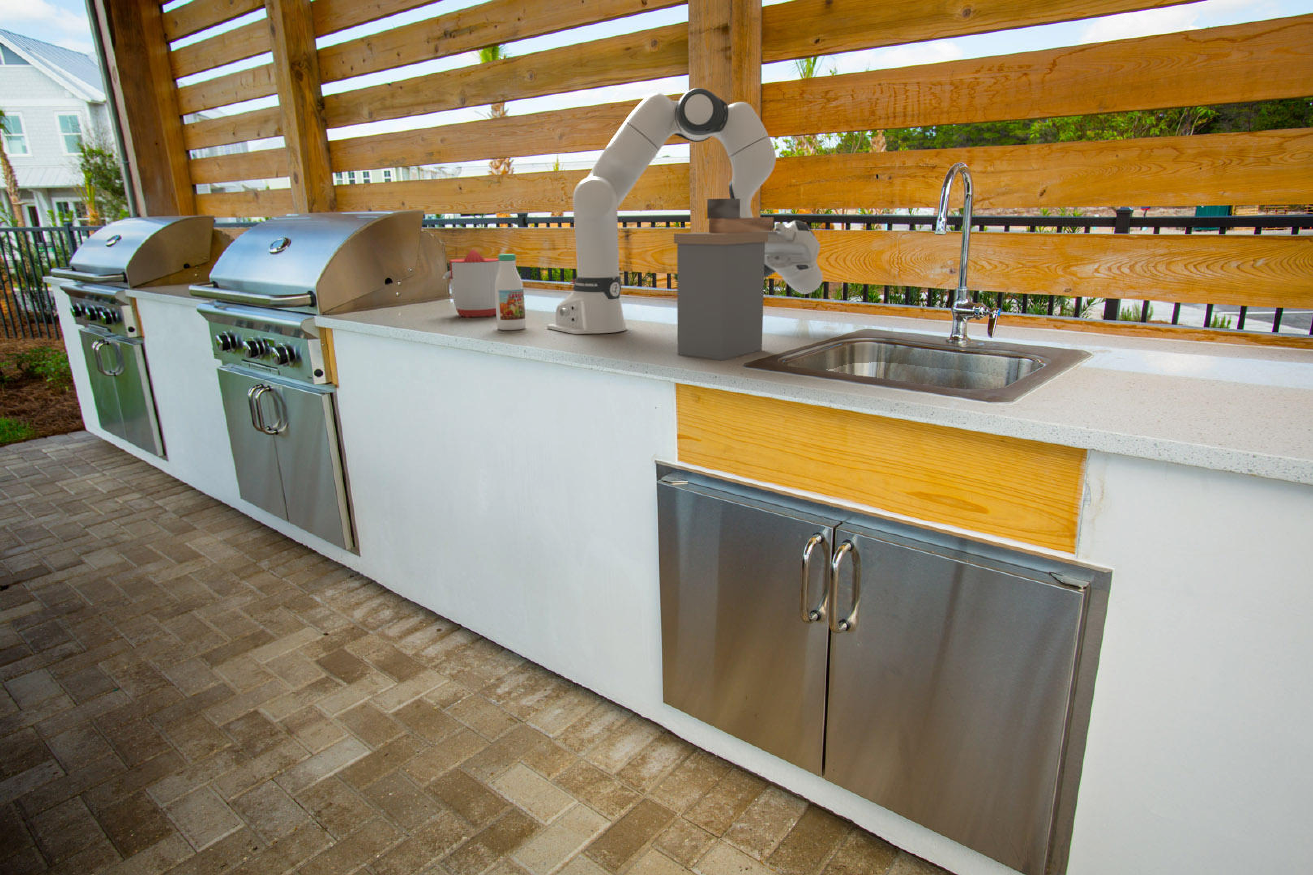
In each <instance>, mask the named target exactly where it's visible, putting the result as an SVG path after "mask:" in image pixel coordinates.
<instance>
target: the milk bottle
mask: <svg viewBox="0 0 1313 875" xmlns="http://www.w3.org/2000/svg"><path fill="white" fill-rule="evenodd" d="M497 259H499V265H500V268H499V272H498V275H497V278H496V281H495V301H496V314H495V315H496V325H497V326H496V328H497V329H498V330H502V331H519V330H523V329H525V328H526V326H527V325H526V323H527V322H526V312H525V311H526V310H525V309H526V306H525V294H524V292H525V291H524V285H523V281H522V277H521V275H520V274H519V271H518V270H517V267H516V266H517V265H516V263H517V256H516V254H515V253H500V254H498V255H497Z"/></svg>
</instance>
